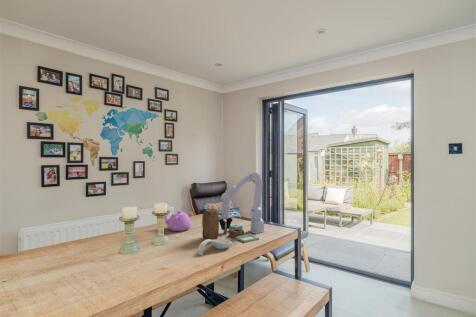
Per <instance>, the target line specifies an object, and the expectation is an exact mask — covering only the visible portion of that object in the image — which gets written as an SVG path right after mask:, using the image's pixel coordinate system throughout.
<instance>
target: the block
mask: <svg viewBox="0 0 476 317" xmlns="http://www.w3.org/2000/svg"><path fill="white" fill-rule="evenodd" d="M219 217H220V216H219V211H218V210H216V209H215V208H207V209H205V210H204V211H203V213H202V218H201V223H202V224H201V225H202V231H201V232H202V233H201V234H202V239H203V241H204V240H207V239H211V240H214V239H218V237H219V234H220V233H219V230H220V227H219V226H220V223H219Z"/></svg>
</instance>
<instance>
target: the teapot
mask: <svg viewBox="0 0 476 317" xmlns="http://www.w3.org/2000/svg"><path fill="white" fill-rule="evenodd" d="M164 222H165V225H166V226H167V228H168V230H170V231H172V232H184V231H187V230H189V229H190V228H191V226H192V222H191V219H190V217H189V215H188V214H187V213H186V212H184V211H182V210H176V212H173V213H172V214H171V215H170V216H168V214H167V215H166V216H165V215H164Z"/></svg>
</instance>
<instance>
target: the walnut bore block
mask: <svg viewBox="0 0 476 317" xmlns="http://www.w3.org/2000/svg"><path fill="white" fill-rule="evenodd" d="M228 235H229V236H230V237H232V238H233V239H236V236H241V235H245V231H244V230H243V229H242V230H241V229H238V228H236V229H231V230H229V229H228Z"/></svg>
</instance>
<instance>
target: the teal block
mask: <svg viewBox="0 0 476 317" xmlns="http://www.w3.org/2000/svg"><path fill="white" fill-rule="evenodd" d="M236 228H238V229H241V230H243V225H240V224H237V223H234V224H230V228H229V229H228V231H229V230H231V229H236Z"/></svg>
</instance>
